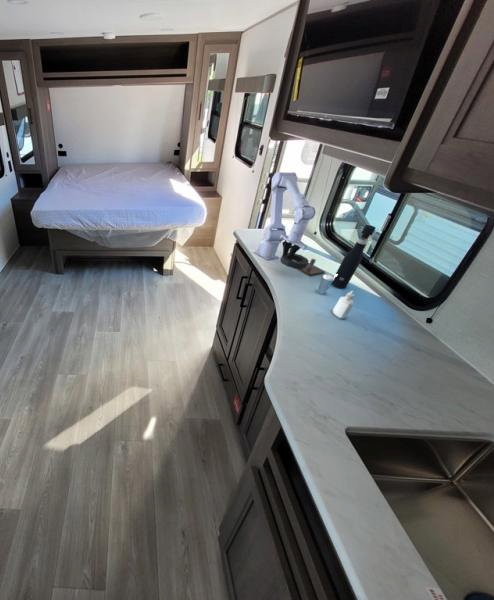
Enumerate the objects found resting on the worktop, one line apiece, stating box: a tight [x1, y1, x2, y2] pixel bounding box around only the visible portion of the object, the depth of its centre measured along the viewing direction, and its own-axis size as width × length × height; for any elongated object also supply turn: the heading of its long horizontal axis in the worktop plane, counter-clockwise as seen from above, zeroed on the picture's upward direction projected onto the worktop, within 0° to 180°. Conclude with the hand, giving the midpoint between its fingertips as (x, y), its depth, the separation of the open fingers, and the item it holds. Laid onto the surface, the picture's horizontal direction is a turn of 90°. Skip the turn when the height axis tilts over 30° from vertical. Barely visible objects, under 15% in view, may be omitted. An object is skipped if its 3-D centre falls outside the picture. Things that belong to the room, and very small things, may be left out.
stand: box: [297, 258, 325, 277], centre depth 159 cm, size 10×10×6 cm
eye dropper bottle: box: [332, 290, 355, 320], centre depth 126 cm, size 4×6×12 cm
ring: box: [279, 252, 310, 270], centre depth 154 cm, size 12×12×3 cm
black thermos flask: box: [330, 224, 377, 290], centre depth 141 cm, size 6×6×30 cm
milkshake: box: [316, 274, 338, 295], centre depth 140 cm, size 4×5×10 cm
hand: (286, 256), depth 157 cm, fingers closed on ring, 2 cm apart
